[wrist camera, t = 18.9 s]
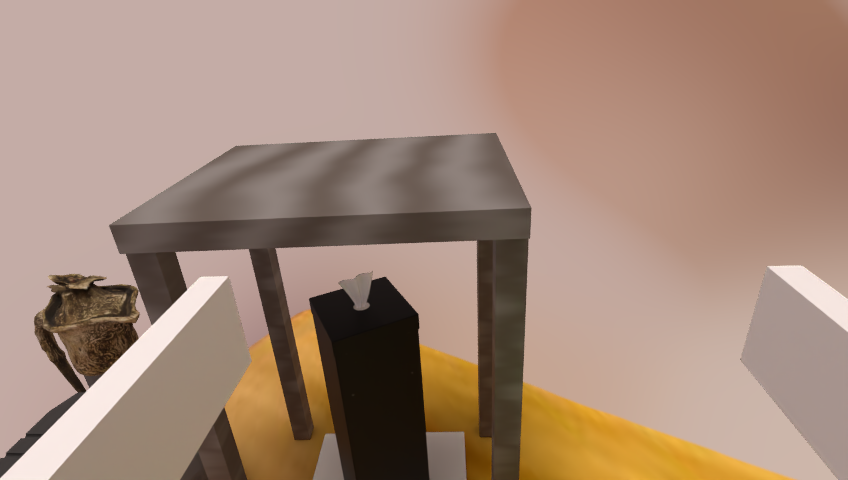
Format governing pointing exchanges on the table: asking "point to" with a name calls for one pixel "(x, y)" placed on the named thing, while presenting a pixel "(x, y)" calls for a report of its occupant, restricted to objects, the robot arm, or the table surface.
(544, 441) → the table surface
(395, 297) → the tissue box
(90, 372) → the pitcher
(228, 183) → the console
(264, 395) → the table surface
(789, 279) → the robot arm
